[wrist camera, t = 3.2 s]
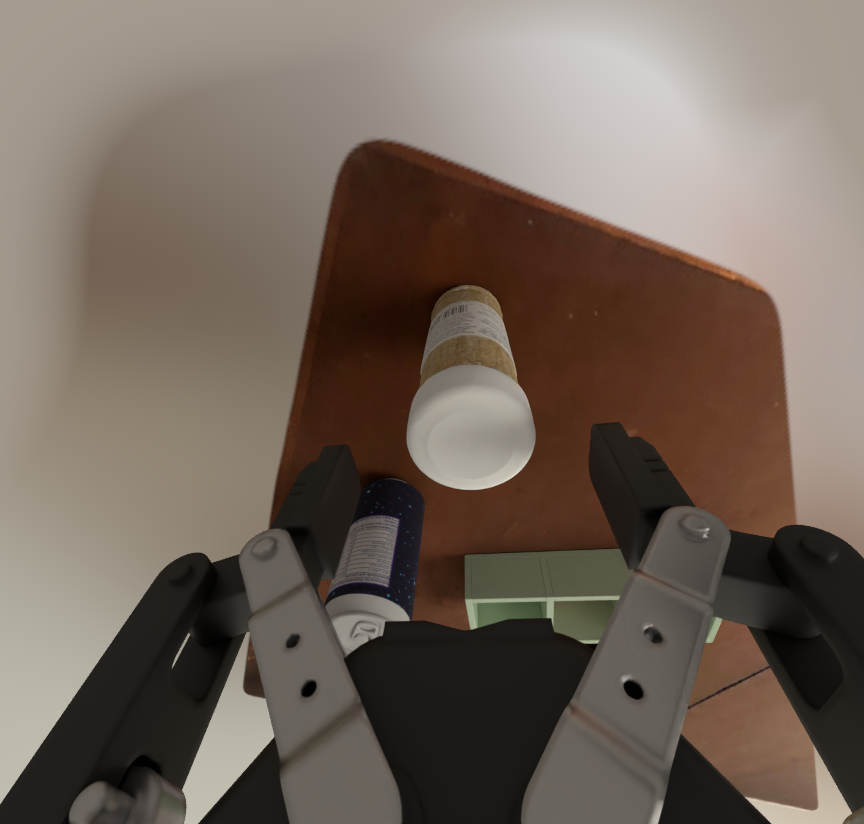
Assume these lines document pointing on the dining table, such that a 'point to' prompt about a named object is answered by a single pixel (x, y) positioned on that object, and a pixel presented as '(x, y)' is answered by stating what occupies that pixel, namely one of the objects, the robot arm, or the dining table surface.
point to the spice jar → (469, 397)
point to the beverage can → (377, 563)
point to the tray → (550, 589)
